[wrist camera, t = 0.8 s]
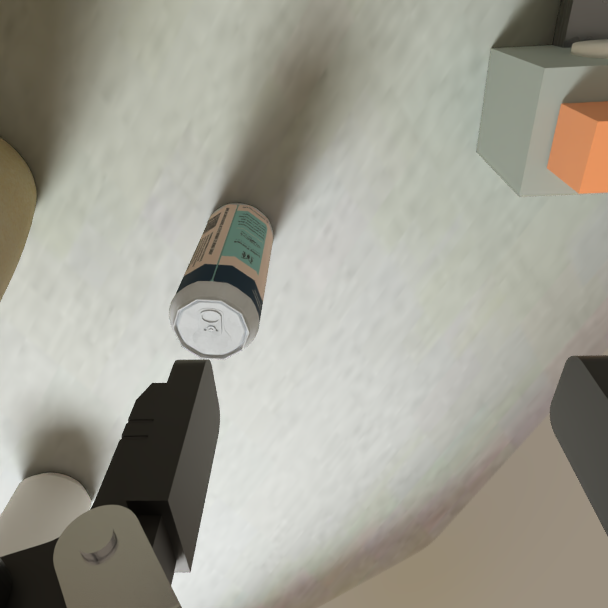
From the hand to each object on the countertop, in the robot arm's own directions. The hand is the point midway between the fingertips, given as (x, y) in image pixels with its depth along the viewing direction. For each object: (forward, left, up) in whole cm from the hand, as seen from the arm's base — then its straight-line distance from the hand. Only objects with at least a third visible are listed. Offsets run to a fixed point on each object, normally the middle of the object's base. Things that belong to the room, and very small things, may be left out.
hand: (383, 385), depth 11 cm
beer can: (+7, -7, -24) cm, 26 cm away
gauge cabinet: (-1, +14, -24) cm, 28 cm away
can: (+36, -30, -24) cm, 53 cm away
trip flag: (-1, +11, -16) cm, 19 cm away
